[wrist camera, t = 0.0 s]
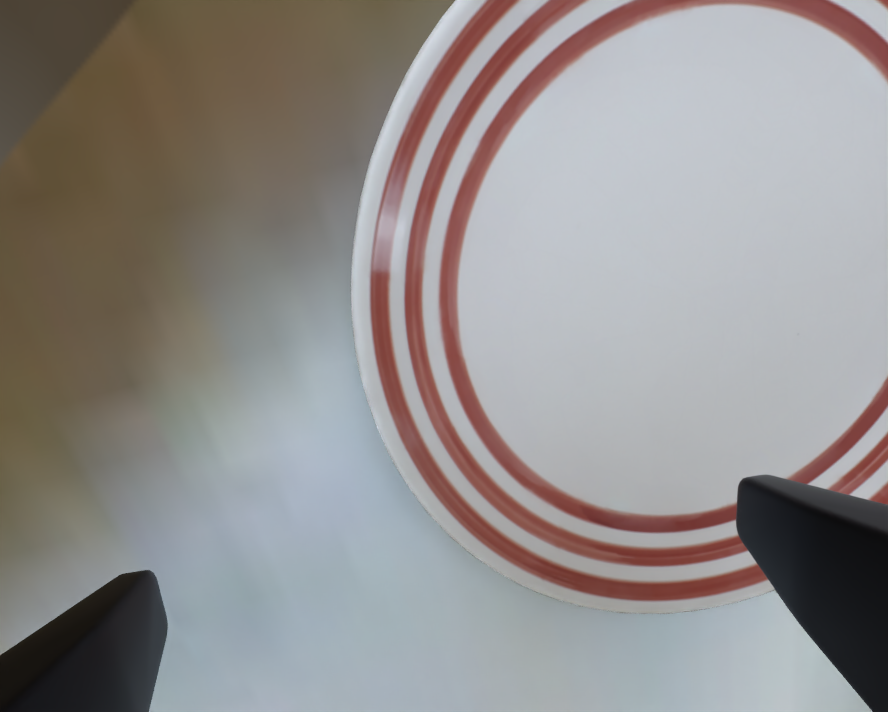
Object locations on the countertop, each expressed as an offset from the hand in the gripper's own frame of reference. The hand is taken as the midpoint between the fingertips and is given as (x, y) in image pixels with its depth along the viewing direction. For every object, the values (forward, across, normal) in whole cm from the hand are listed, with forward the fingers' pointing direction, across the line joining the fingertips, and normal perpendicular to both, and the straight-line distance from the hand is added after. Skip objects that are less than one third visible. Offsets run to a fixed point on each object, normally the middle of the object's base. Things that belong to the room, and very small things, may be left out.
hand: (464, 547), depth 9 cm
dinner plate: (+15, -12, -1) cm, 19 cm away
